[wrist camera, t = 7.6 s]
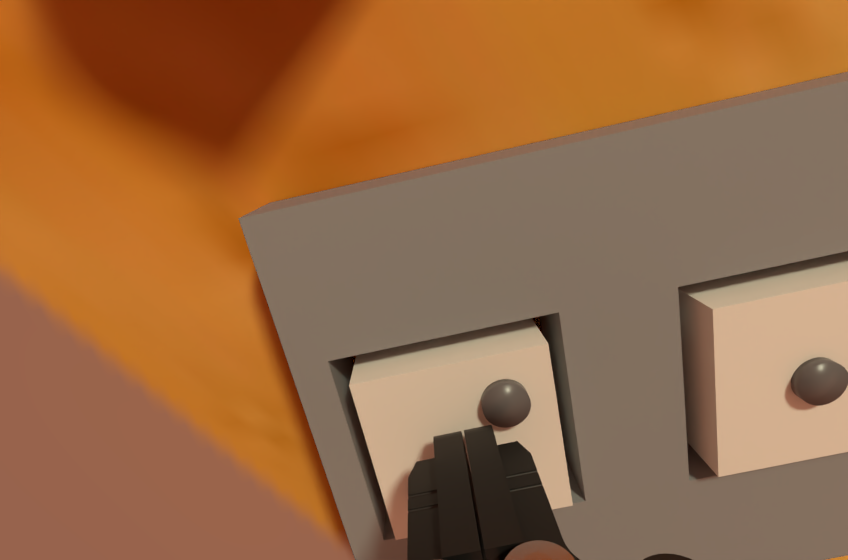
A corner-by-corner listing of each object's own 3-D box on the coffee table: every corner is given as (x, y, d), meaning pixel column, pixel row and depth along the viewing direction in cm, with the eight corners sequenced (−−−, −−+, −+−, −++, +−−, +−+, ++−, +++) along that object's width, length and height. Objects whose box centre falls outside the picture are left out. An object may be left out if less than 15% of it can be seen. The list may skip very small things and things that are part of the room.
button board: (1230, -15, 12) (1428, -51, 10) (1111, 432, 16) (1230, 483, 14) (269, 202, 13) (238, 218, 11) (387, 572, 17) (383, 641, 15)
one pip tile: (819, 237, 14) (938, 268, 11) (813, 383, 15) (917, 447, 12) (652, 273, 14) (720, 313, 11) (662, 413, 16) (725, 484, 13)
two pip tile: (520, 301, 14) (552, 349, 11) (543, 438, 16) (576, 513, 13) (361, 335, 15) (347, 391, 11) (398, 467, 16) (395, 549, 13)
